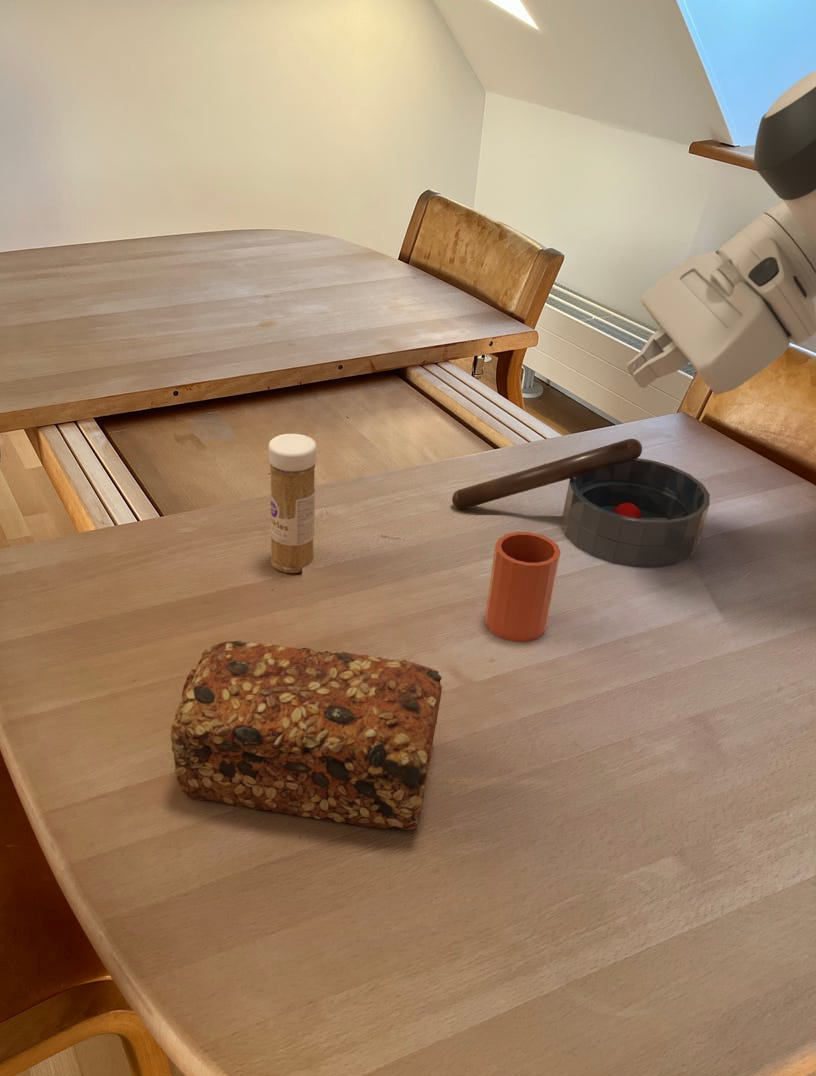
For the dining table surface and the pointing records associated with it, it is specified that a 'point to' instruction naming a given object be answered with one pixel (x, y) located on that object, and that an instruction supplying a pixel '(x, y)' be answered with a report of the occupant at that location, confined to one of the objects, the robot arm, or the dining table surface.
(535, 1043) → the dining table surface
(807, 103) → the robot arm
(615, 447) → the stirring stick
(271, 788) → the bread
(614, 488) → the bowl
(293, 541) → the sprinkles bottle
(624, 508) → the berry
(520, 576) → the crock
